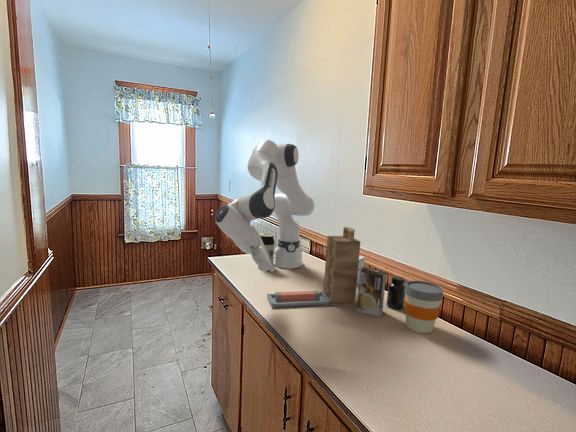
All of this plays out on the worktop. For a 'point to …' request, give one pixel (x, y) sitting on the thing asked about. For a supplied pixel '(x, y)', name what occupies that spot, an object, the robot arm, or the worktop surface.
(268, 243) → the travel mug
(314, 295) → the bar
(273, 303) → the tray
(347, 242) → the tall wooden block
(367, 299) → the coffee box
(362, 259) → the supplement box
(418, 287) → the reusable coffee cup
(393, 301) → the supplement bottle
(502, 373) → the worktop surface
